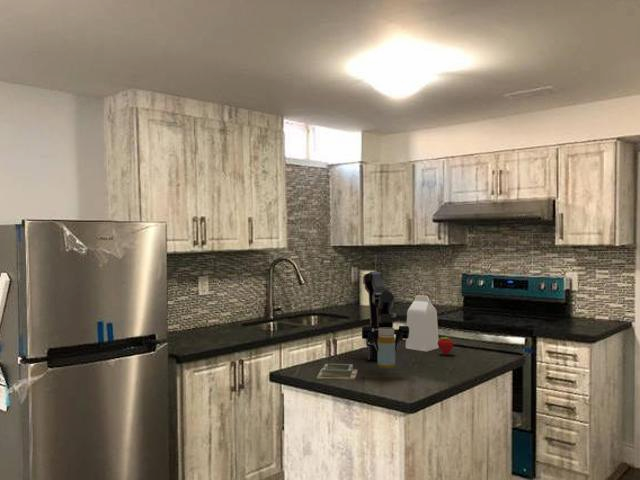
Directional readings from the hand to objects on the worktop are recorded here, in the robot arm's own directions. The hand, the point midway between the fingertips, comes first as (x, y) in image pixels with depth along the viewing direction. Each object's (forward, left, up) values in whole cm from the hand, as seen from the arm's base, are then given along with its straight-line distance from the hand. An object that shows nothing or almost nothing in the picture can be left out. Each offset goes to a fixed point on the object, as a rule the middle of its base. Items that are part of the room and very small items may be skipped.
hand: (386, 350), depth 223 cm
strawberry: (-46, +26, -11) cm, 54 cm away
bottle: (-1, 0, -7) cm, 7 cm away
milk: (-62, +16, -11) cm, 65 cm away
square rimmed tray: (-4, -20, -11) cm, 23 cm away
